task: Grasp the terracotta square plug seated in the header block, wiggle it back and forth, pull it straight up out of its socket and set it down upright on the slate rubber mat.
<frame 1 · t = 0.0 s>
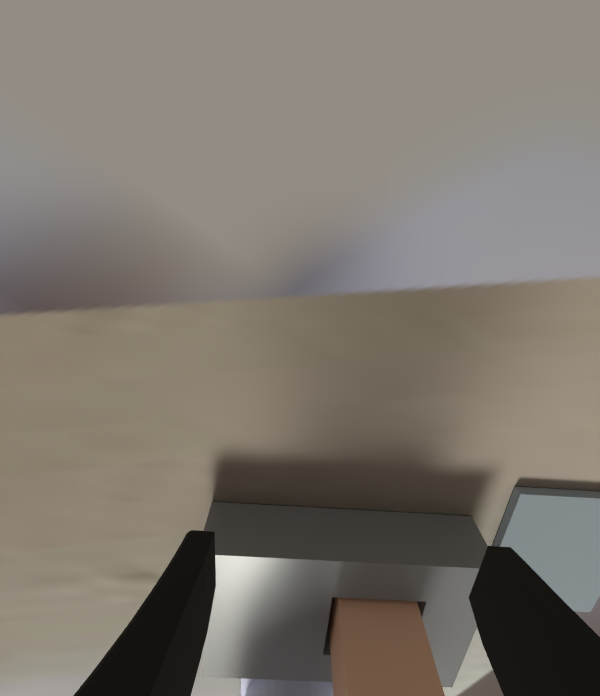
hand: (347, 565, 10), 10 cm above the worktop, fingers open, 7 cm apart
plug: (362, 571, 24), resting in header
mat: (552, 549, 24), on the worktop
header: (333, 570, 24), on the worktop
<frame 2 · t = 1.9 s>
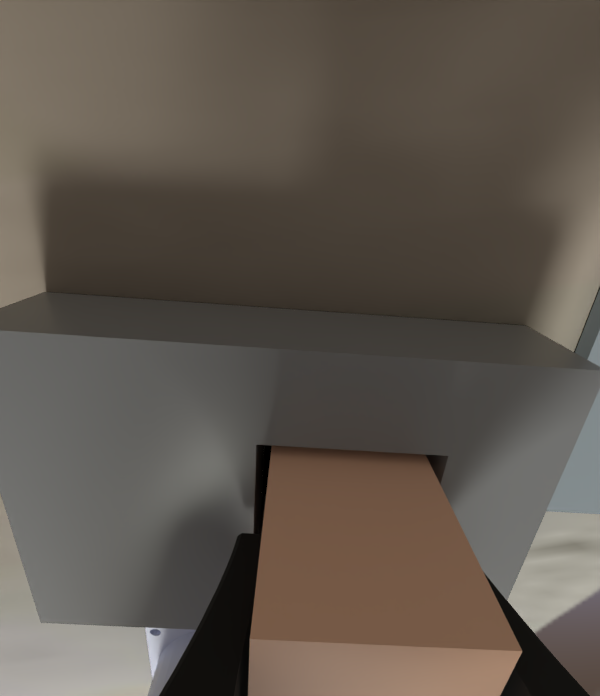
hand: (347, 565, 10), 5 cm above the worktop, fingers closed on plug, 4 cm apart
plug: (332, 447, 14), resting in header, touching gripper
header: (281, 445, 14), on the worktop
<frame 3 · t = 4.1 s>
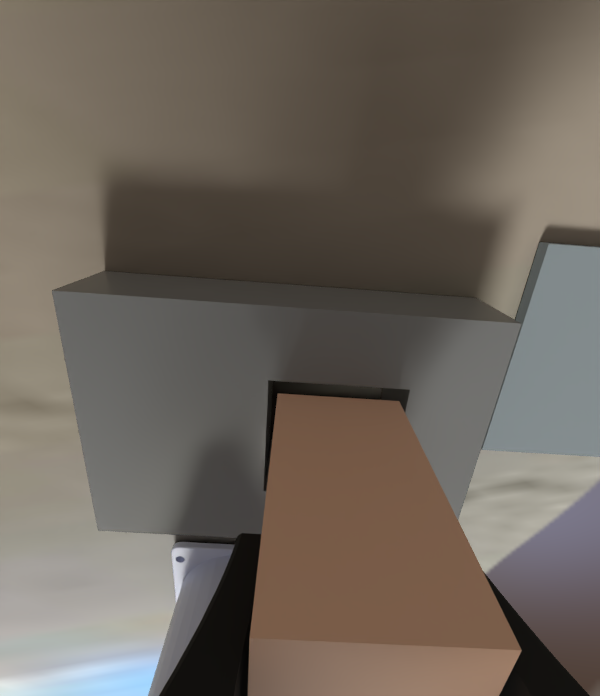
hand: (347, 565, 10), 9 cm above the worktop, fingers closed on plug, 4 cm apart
plug: (332, 447, 14), point 4 cm above the worktop, touching gripper
mat: (588, 359, 17), on the worktop
header: (285, 396, 18), on the worktop
when the fingers open (7 cm above the worktop, at t = 6.7 s): plug drops 1 cm, resting on mat.
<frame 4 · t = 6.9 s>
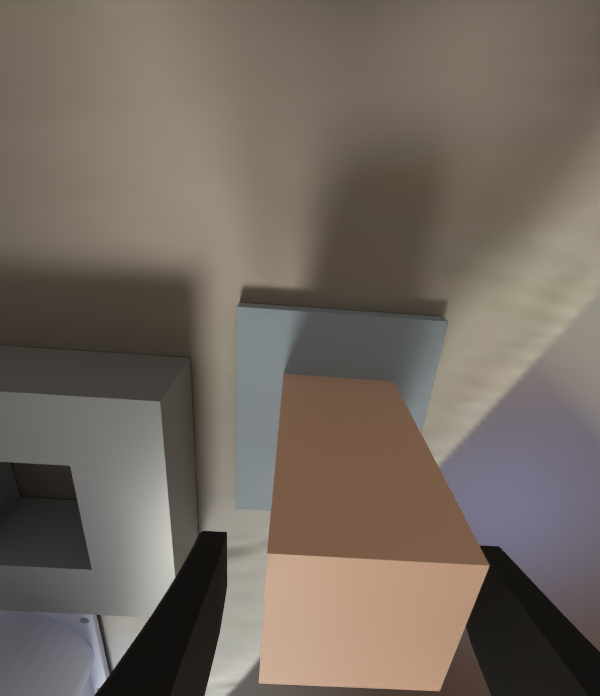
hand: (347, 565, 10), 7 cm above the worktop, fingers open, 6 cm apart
plug: (332, 424, 15), point 1 cm above the worktop, touching mat
mat: (328, 418, 16), on the worktop
header: (22, 454, 17), on the worktop
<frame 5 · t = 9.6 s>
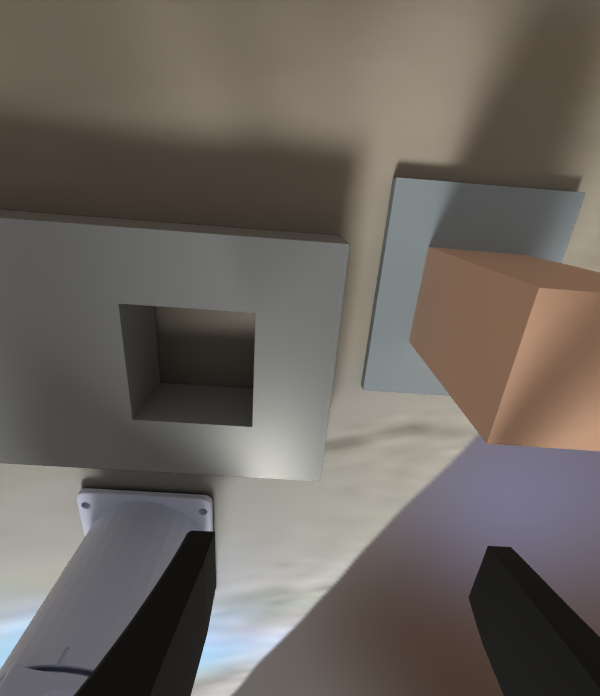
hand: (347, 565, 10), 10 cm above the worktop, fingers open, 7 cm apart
plug: (465, 300, 17), point 1 cm above the worktop, touching mat
mat: (457, 298, 17), on the worktop
header: (169, 336, 18), on the worktop
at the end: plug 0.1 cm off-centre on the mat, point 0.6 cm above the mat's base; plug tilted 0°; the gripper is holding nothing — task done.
